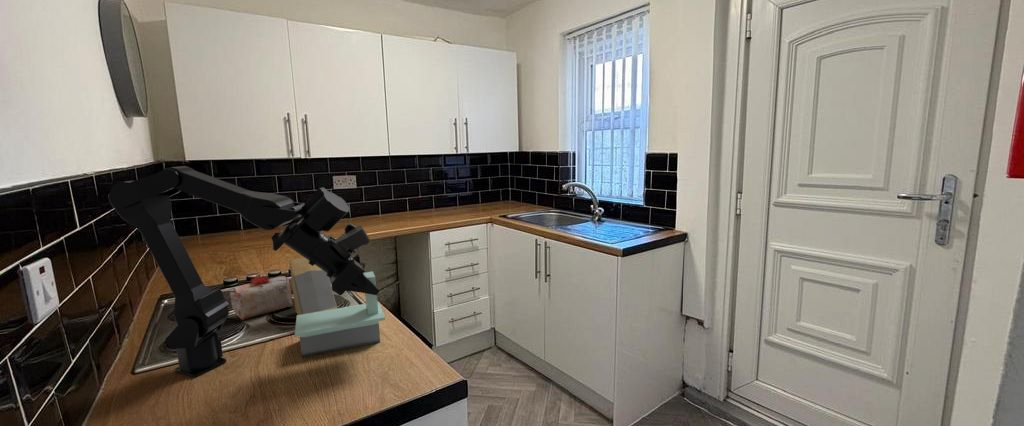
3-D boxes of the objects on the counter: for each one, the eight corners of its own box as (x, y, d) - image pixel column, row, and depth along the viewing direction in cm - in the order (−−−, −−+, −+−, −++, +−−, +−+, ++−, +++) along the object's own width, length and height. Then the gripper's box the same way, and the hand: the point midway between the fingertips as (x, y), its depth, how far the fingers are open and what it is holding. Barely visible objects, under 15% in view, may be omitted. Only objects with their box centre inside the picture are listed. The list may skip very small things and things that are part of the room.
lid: (295, 341, 81) (289, 293, 79) (297, 322, 89) (292, 278, 88) (385, 324, 87) (382, 279, 86) (379, 308, 96) (376, 267, 94)
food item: (237, 323, 107) (232, 286, 106) (231, 314, 113) (226, 278, 112) (295, 308, 117) (291, 274, 115) (287, 300, 122) (283, 267, 121)
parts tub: (301, 357, 90) (299, 337, 89) (303, 339, 98) (301, 320, 97) (380, 342, 96) (378, 323, 95) (376, 326, 104) (374, 309, 104)
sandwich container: (305, 334, 101) (299, 274, 98) (294, 313, 113) (288, 259, 111) (343, 325, 106) (337, 267, 103) (328, 306, 118) (323, 254, 115)
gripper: (345, 222, 77) (410, 272, 83) (340, 208, 94) (395, 250, 100) (301, 270, 75) (372, 317, 81) (304, 247, 92) (362, 287, 98)
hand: (376, 289), depth 90 cm, fingers closed on lid, 4 cm apart
